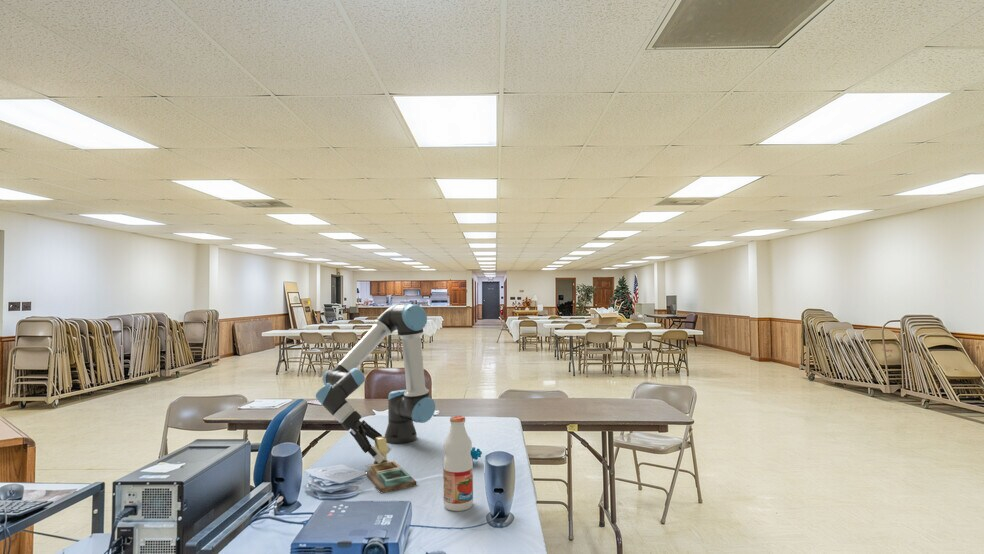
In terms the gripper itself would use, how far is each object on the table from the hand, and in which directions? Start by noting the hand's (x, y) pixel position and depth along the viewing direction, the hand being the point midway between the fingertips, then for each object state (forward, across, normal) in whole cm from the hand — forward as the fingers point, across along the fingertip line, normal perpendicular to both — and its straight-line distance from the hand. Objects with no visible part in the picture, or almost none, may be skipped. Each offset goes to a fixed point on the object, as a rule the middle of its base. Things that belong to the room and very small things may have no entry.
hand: (385, 456), depth 188 cm
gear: (+26, -4, +20) cm, 33 cm away
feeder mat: (+2, -1, -5) cm, 5 cm away
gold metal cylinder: (+1, -1, -4) cm, 5 cm away
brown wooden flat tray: (+7, +13, 0) cm, 14 cm away
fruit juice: (+26, +35, +19) cm, 47 cm away
